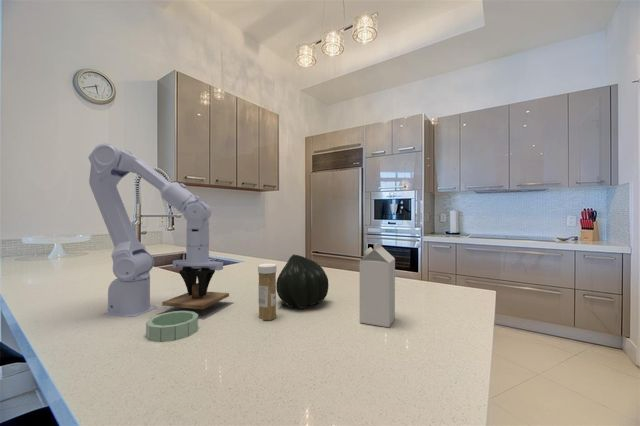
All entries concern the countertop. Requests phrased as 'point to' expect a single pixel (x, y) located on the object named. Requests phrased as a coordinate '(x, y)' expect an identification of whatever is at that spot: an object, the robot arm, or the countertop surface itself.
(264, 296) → the sprinkles bottle
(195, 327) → the bowl
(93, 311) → the countertop surface
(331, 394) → the countertop surface
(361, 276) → the milk carton
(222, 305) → the mat
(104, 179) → the robot arm
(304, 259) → the squash
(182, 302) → the lid
